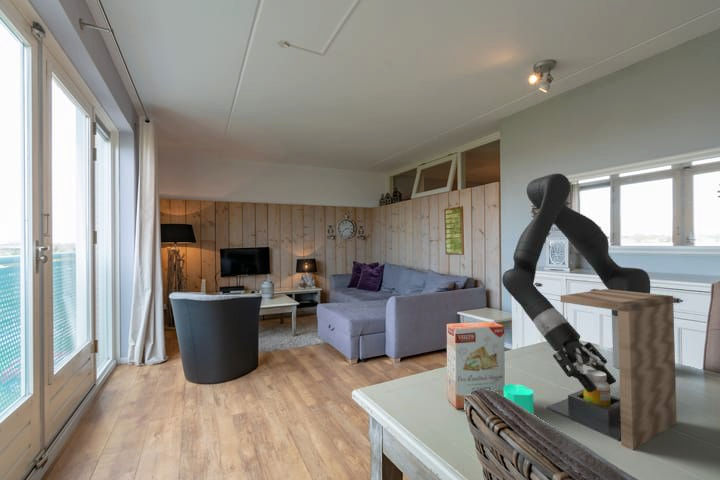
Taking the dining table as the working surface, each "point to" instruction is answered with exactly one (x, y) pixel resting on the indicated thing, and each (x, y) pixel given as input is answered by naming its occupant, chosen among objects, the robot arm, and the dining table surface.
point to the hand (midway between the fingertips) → (603, 387)
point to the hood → (641, 360)
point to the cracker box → (474, 359)
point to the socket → (591, 413)
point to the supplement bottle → (598, 388)
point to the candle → (520, 396)
